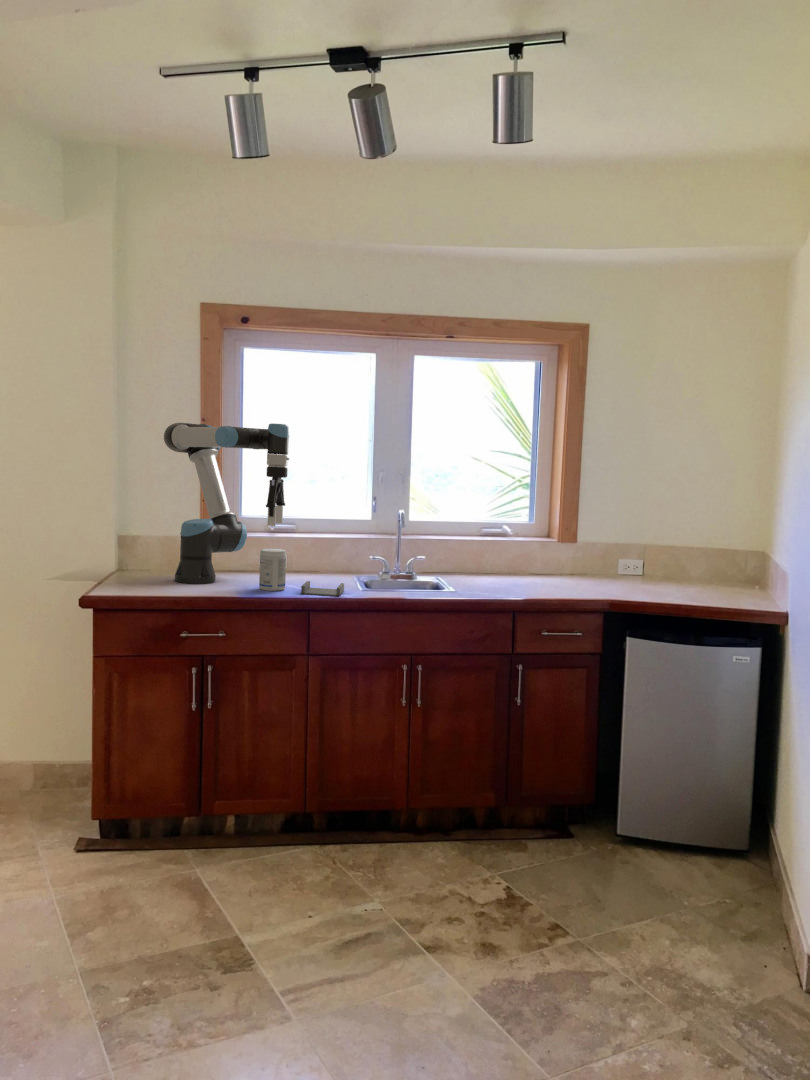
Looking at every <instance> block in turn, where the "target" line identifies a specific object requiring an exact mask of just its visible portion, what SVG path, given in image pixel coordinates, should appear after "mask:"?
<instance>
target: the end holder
mask: <svg viewBox="0 0 810 1080" xmlns="http://www.w3.org/2000/svg"><path fill="white" fill-rule="evenodd" d="M300 588H301V590H300V595H306V596H307V595H308V596H324V597H325V596H326V597H339V596H340V595H342V594H343V593H344V592H345V583H340V584H339V585H338V586H336V588H323V587H321V588H320V587H311V580H306V581H305V583H303V584H302V585H301V587H300ZM340 597H341V596H340ZM340 597H339V598H340Z"/></svg>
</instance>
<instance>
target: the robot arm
mask: <svg viewBox="0 0 810 1080" xmlns="http://www.w3.org/2000/svg"><path fill="white" fill-rule="evenodd" d="M163 440H164V441H163V442H164V443H165V446H166V447H167V448H168V449H169V450H171V451H173V452H176V453H184V454H185V453H186V454H187V455H188V459H189V462H192V463H194V466H195V470H196V474H197V476H198V480H199V481H198V482H199V484H200V488H201V492H202V496H203V498H204V502H205V506H206V510H207V514H208V518H194V519H193V518H192V519H188V520H185V521H183V522H182V523H181V527H180V534H179V535H180V549H179V550H180V551H179V553H180V555H179V556H180V557H179V559H180V560H179V562H178V565H177V567H176V570H175V574H174V582H176V583H183V584H191V585H192V584H194V585H195V584H196V585H197V584H200V585H201V584H213V583H215V582H216V579H217V577H216V572H215V568H214V566H213V563H212V555H213V554H214V553H216V554H217V553H233V552H238V551H240V550H242V549H243V548H244V546H245V544H246V541H247V539H248V538H247V537H248V532H247V530H248V529H247V527H246V525H245V524H244V523H243V522H242V521H238V518H237V515H236V514H235V513H234V512H232V511H231V508H230V504H229V501H228V496H227V493H226V489H225V487H224V482H223V479H222V476H221V472H220V468H219V464H218V460H217V456H218V455H219V451H220V449H221V448H227V449H228V448H229V449H232V448H233V449H250V450H251V449H252V450H267V453H266V465H267V466H266V477H268V478H271V479H269V487H268V494H267V502H266V504H265V508H267V524H266V525H267V526H270V527H276V524H283V519H284V518H283V514H284V513H283V512H284V507H283V506H286V502H285V494H284V493H285V492H284V490H285V489H284V478H285V479H286V478H287V477H288V467H287V466H288V464H289V461H290V457H289V446H290V445H289V443H290V428H289V425H288V424H285V423H269V424H268V427H267V428H255V427H254V428H253V427H239V426H231V425H224V426H223V425H222V426H212V425H210V424H205V423H199V424H198V423H189V422H188V423H187V422H175V423H172V424H170V425H169V426H167V427H166V429H165V431H164V433H163ZM282 478H283V479H282ZM212 553H213V554H212Z"/></svg>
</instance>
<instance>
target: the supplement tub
mask: <svg viewBox="0 0 810 1080" xmlns="http://www.w3.org/2000/svg"><path fill="white" fill-rule="evenodd" d="M259 552H260V553H259V575H258V576H259V582H258V587H259V589H260V590H262V591H267V592H279V591H280V592H281V591H283V590H285V589H286V576H287V575H286V574H287V573H286V572H287V564H286V563H287V551H286V549H283V548H282V549H281V548H263V549H262V548H261V549H260V551H259Z"/></svg>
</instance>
